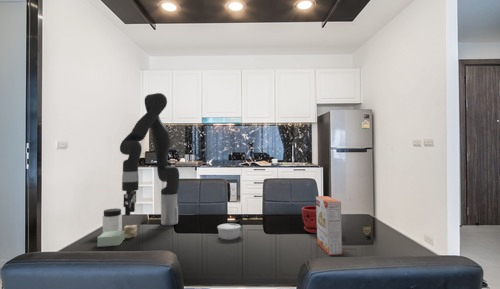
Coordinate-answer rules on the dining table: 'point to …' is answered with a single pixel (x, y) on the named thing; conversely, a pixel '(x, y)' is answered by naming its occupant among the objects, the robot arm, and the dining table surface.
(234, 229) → the ramekin
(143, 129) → the robot arm
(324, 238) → the cracker box
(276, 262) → the dining table surface
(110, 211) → the jar
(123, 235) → the pedestal
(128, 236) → the maple cube
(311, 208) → the plant pot
